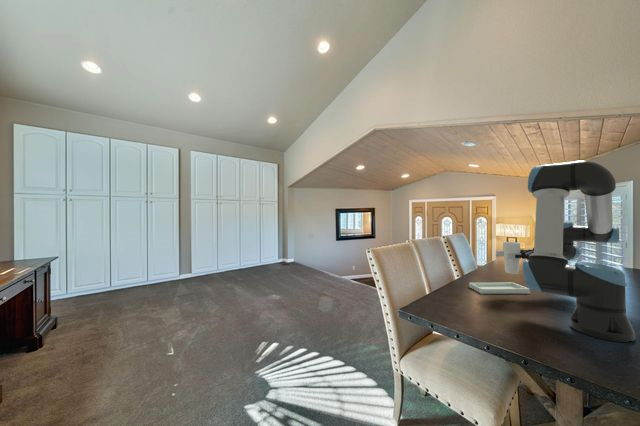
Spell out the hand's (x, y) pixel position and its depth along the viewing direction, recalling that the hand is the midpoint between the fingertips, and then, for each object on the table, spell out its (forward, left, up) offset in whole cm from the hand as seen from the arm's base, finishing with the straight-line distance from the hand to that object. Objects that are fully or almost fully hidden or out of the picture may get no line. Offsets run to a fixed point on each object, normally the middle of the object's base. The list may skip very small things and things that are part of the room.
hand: (502, 254), depth 124 cm
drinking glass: (+5, -2, -9) cm, 10 cm away
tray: (+9, +8, -21) cm, 24 cm away
